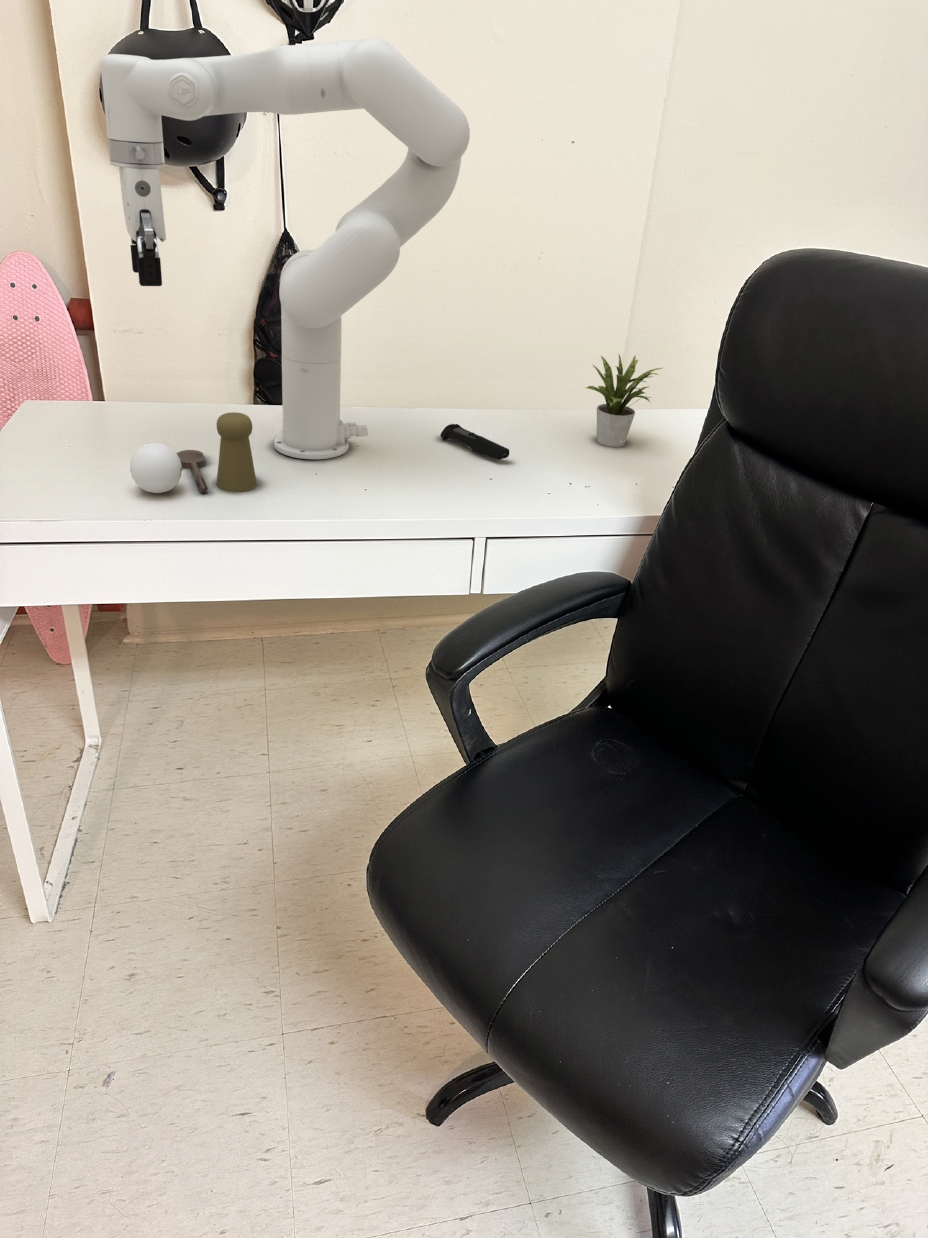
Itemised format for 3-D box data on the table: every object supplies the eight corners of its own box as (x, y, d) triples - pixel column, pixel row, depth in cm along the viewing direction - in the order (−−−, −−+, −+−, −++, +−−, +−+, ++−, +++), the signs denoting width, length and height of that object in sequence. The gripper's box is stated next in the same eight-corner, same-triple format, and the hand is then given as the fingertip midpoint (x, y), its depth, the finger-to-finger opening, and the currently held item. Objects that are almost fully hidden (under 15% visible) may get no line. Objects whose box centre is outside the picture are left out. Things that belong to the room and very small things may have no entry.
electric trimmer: (497, 467, 161) (499, 450, 159) (438, 439, 170) (439, 422, 168) (513, 463, 163) (515, 446, 161) (453, 435, 172) (455, 418, 171)
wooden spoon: (174, 456, 153) (174, 449, 152) (201, 454, 154) (201, 447, 154) (189, 495, 140) (189, 487, 140) (218, 493, 142) (218, 485, 141)
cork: (262, 480, 147) (261, 411, 142) (247, 494, 142) (245, 423, 137) (226, 474, 148) (223, 405, 143) (209, 488, 143) (205, 417, 138)
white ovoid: (187, 499, 139) (183, 451, 135) (134, 502, 136) (129, 454, 133) (179, 473, 147) (176, 428, 143) (129, 476, 144) (124, 430, 141)
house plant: (651, 462, 168) (669, 371, 160) (574, 452, 170) (587, 361, 162) (650, 437, 181) (666, 351, 172) (578, 427, 182) (590, 342, 174)
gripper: (171, 162, 130) (180, 291, 139) (156, 149, 144) (165, 267, 152) (114, 159, 128) (126, 291, 136) (104, 146, 141) (116, 267, 150)
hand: (147, 278), depth 144 cm, fingers open, 9 cm apart
